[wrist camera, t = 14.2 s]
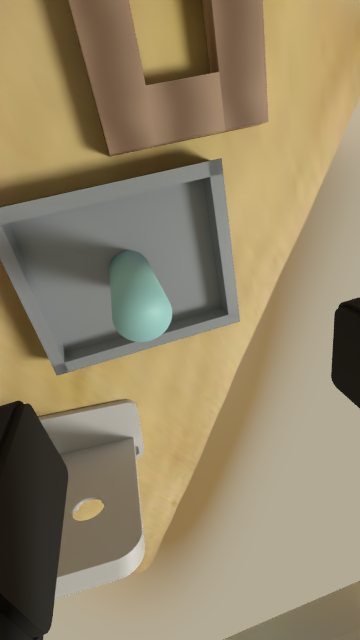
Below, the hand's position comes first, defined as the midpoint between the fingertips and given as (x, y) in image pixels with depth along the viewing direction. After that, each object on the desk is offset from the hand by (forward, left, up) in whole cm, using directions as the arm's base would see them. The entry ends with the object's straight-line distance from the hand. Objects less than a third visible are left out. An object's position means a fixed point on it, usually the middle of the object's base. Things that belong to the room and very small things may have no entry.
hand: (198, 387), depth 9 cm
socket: (-7, -15, -23) cm, 28 cm away
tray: (+1, +2, -23) cm, 23 cm away
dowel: (+1, +2, -22) cm, 22 cm away
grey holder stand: (+14, +22, -24) cm, 35 cm away
